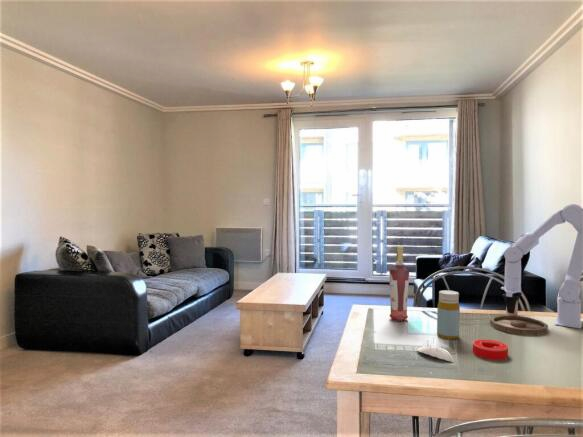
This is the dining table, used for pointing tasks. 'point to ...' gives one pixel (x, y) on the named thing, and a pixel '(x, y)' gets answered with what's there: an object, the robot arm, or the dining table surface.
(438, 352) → the pincushion
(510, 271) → the robot arm
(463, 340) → the dining table surface
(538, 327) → the groove tray
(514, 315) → the bead
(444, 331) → the bottle
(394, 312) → the liquor
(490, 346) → the decorative ornament
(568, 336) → the dining table surface
